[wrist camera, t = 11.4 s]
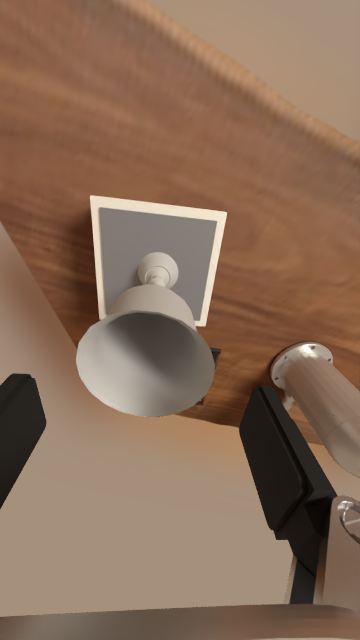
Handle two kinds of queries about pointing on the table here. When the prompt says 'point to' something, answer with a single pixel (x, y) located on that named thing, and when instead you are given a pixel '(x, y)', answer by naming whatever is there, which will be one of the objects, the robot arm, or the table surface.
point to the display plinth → (155, 248)
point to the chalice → (147, 348)
